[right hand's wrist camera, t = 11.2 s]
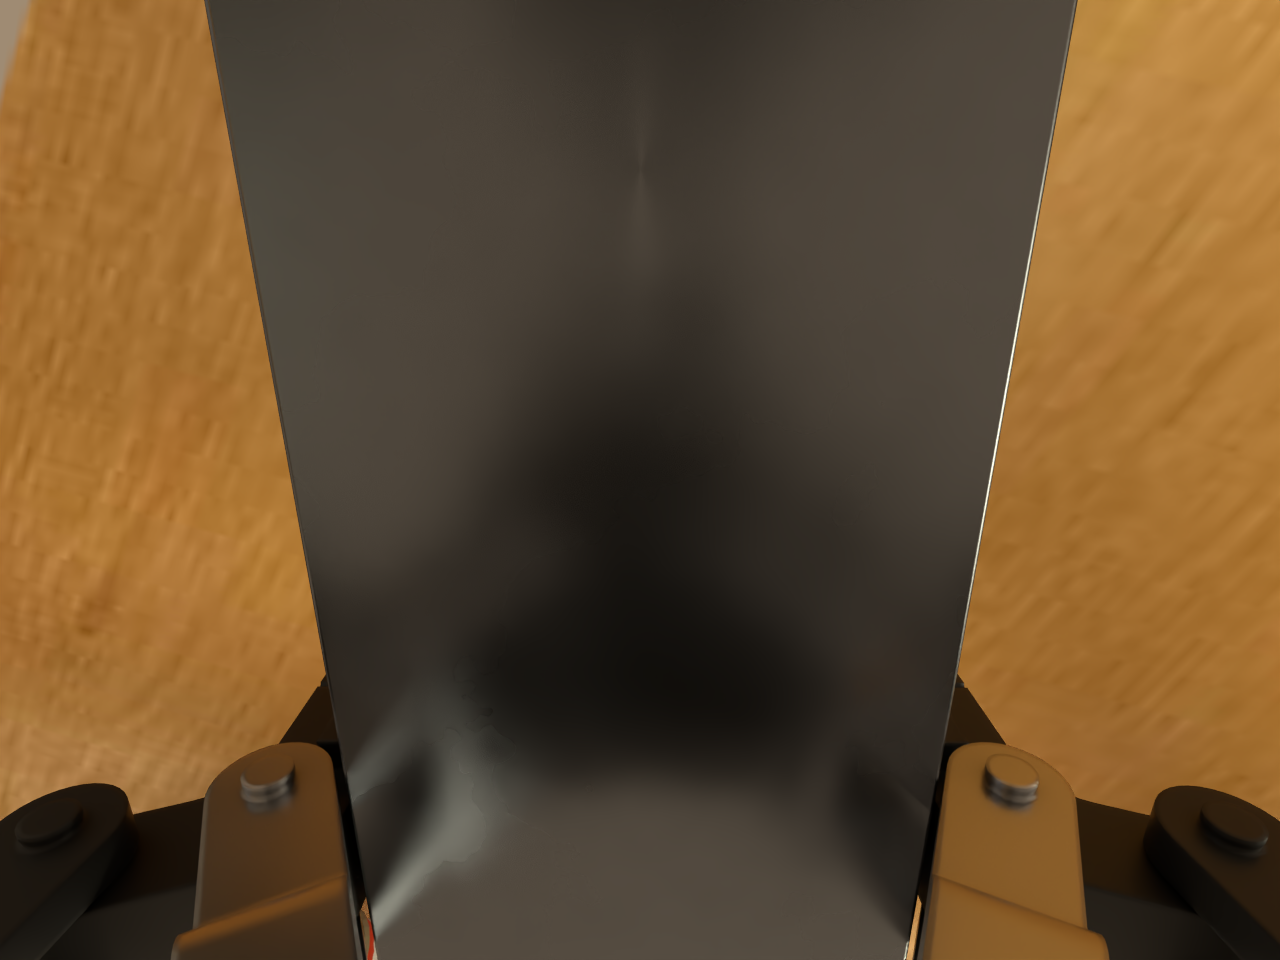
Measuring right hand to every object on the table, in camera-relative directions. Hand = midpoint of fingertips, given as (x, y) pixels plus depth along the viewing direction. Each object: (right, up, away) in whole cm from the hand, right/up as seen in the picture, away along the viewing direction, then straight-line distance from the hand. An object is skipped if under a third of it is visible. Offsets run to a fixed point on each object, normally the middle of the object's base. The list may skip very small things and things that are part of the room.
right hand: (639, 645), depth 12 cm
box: (0, +9, +4) cm, 10 cm away
